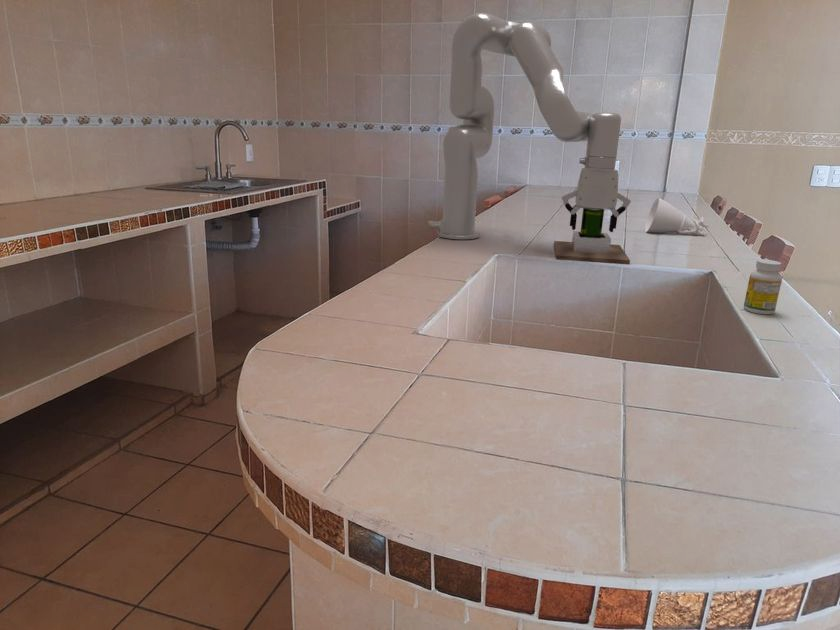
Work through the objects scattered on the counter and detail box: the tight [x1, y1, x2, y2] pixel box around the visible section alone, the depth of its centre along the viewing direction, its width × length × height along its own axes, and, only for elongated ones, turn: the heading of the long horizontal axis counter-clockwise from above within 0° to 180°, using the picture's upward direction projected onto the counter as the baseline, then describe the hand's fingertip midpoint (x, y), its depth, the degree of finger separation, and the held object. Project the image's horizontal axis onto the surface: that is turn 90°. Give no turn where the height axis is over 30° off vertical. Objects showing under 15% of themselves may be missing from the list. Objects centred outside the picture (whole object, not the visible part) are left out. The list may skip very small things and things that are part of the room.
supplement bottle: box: [743, 259, 783, 315], centre depth 113 cm, size 5×5×10 cm
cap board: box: [553, 230, 631, 265], centre depth 160 cm, size 18×20×5 cm
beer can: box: [579, 208, 605, 238], centre depth 158 cm, size 5×5×12 cm
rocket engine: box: [644, 197, 710, 237], centre depth 194 cm, size 12×12×18 cm
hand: (592, 230), depth 159 cm, fingers open, 9 cm apart
